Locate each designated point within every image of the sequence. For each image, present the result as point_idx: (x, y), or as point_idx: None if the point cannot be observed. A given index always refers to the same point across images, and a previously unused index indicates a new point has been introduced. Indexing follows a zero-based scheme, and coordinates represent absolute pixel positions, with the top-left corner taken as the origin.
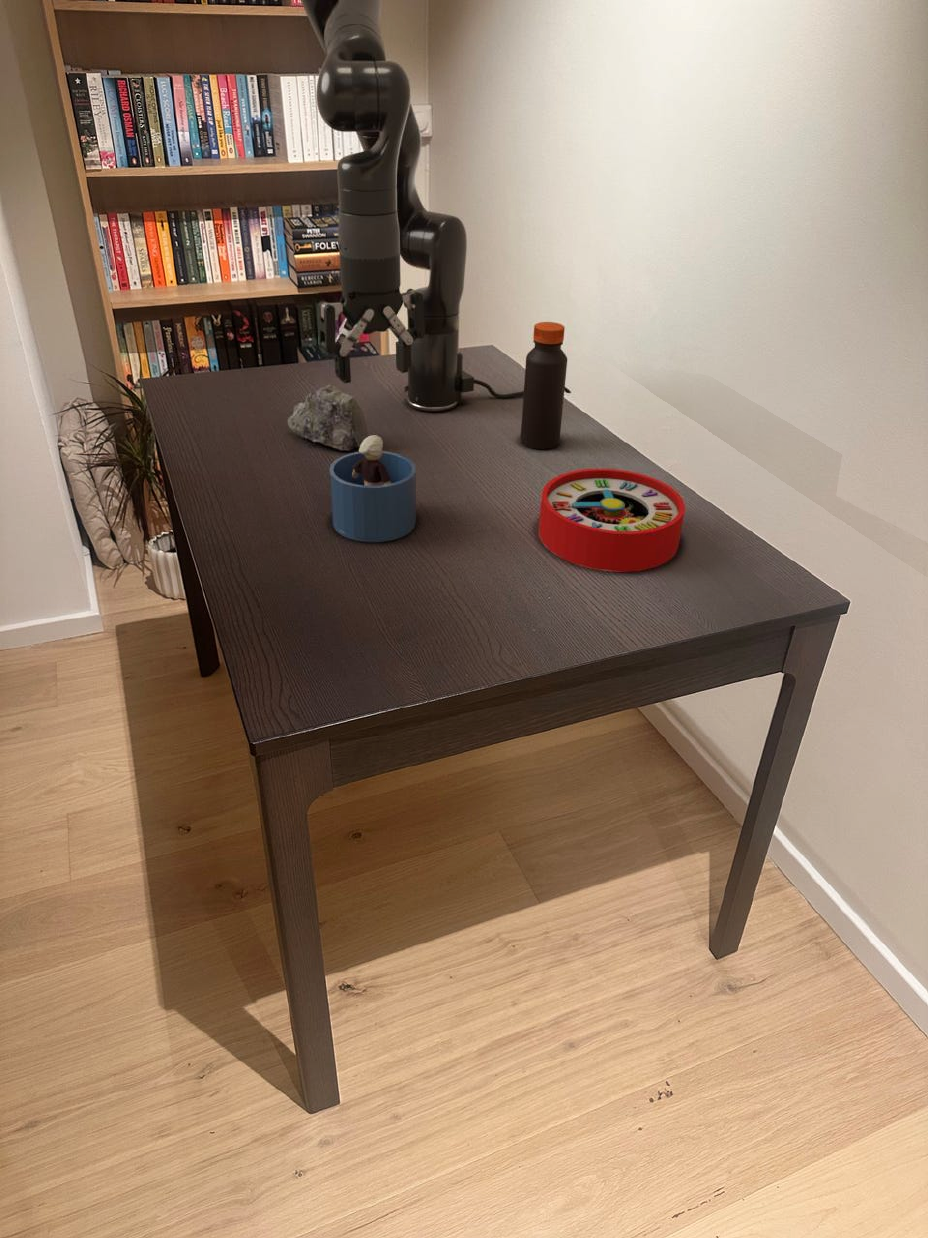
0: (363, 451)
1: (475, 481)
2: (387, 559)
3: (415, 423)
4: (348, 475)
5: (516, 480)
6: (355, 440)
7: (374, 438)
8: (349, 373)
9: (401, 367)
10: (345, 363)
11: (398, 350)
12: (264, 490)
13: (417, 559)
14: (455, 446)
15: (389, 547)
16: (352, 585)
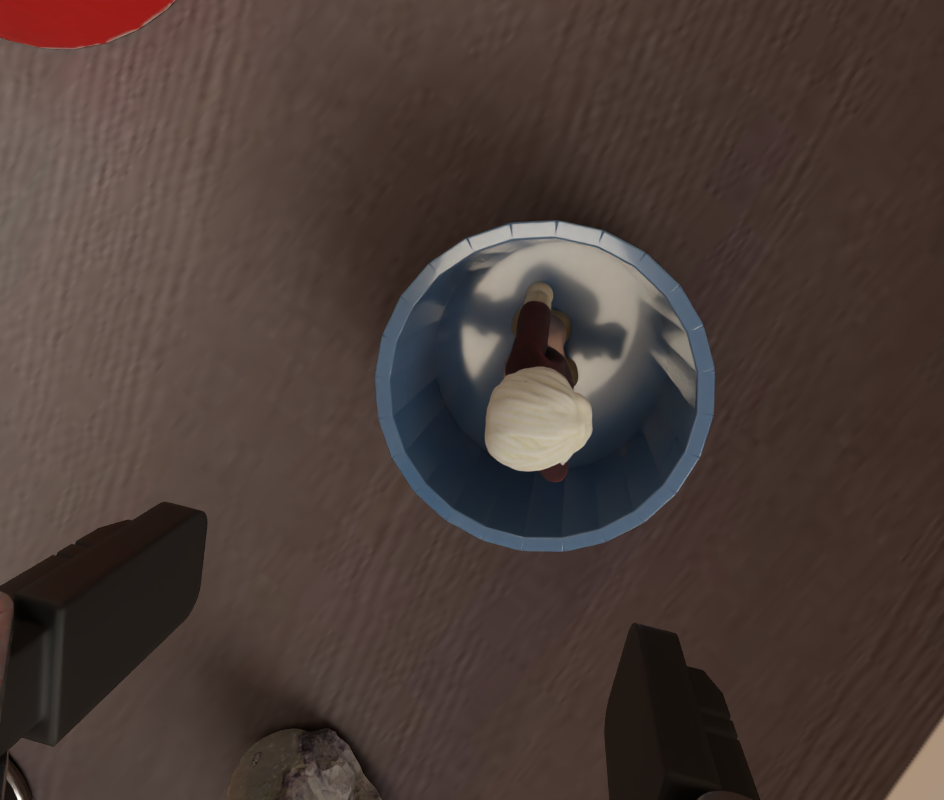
0: (590, 408)
1: (154, 357)
2: (672, 146)
3: (80, 734)
4: (547, 507)
5: (53, 282)
6: (300, 744)
7: (529, 410)
8: (654, 660)
9: (186, 551)
10: (704, 735)
11: (103, 658)
12: None
13: (601, 85)
14: None
15: (616, 203)
16: (865, 84)
